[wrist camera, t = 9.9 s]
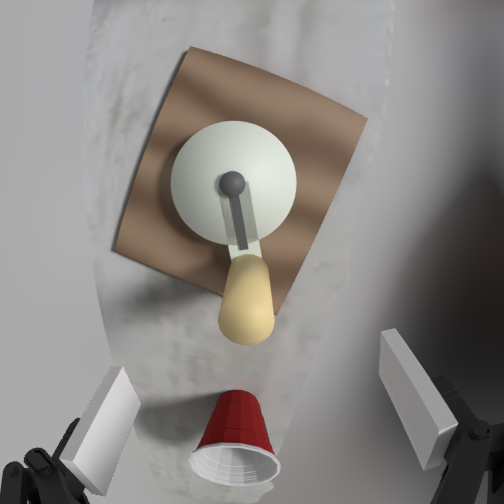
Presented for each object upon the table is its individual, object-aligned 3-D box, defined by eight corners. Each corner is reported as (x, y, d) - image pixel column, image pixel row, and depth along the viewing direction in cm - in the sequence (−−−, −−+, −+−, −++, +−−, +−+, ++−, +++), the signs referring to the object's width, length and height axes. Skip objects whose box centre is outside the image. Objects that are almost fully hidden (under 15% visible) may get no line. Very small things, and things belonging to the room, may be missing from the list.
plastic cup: (197, 422, 42) (185, 484, 31) (203, 370, 39) (188, 438, 28) (267, 431, 43) (270, 494, 31) (284, 382, 40) (291, 450, 28)
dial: (166, 136, 30) (118, 127, 18) (283, 114, 29) (300, 89, 18) (198, 291, 35) (174, 352, 23) (307, 274, 34) (331, 332, 22)
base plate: (192, 49, 28) (190, 45, 27) (364, 119, 30) (368, 118, 29) (117, 248, 35) (113, 250, 33) (276, 311, 37) (276, 316, 35)
